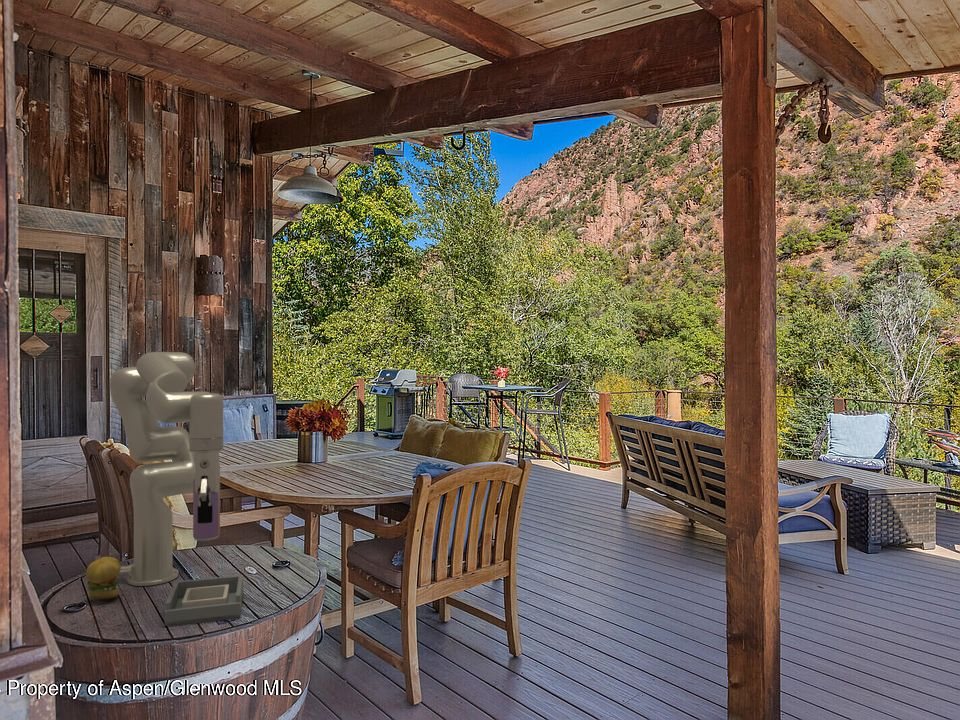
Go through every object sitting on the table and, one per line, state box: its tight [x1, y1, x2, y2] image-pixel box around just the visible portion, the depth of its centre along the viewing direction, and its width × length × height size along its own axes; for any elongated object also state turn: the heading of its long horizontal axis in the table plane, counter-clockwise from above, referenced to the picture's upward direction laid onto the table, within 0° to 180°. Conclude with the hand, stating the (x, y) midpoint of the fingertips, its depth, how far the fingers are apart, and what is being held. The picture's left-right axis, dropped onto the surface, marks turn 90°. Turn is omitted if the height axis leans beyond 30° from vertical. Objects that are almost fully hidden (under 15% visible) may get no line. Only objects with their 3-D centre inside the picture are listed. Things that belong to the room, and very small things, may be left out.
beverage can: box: [192, 476, 221, 542], centre depth 154 cm, size 6×6×15 cm
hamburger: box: [85, 555, 122, 600], centre depth 160 cm, size 8×7×12 cm
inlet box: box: [163, 574, 244, 627], centre depth 154 cm, size 16×16×5 cm
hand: (206, 518), depth 154 cm, fingers closed on beverage can, 5 cm apart
